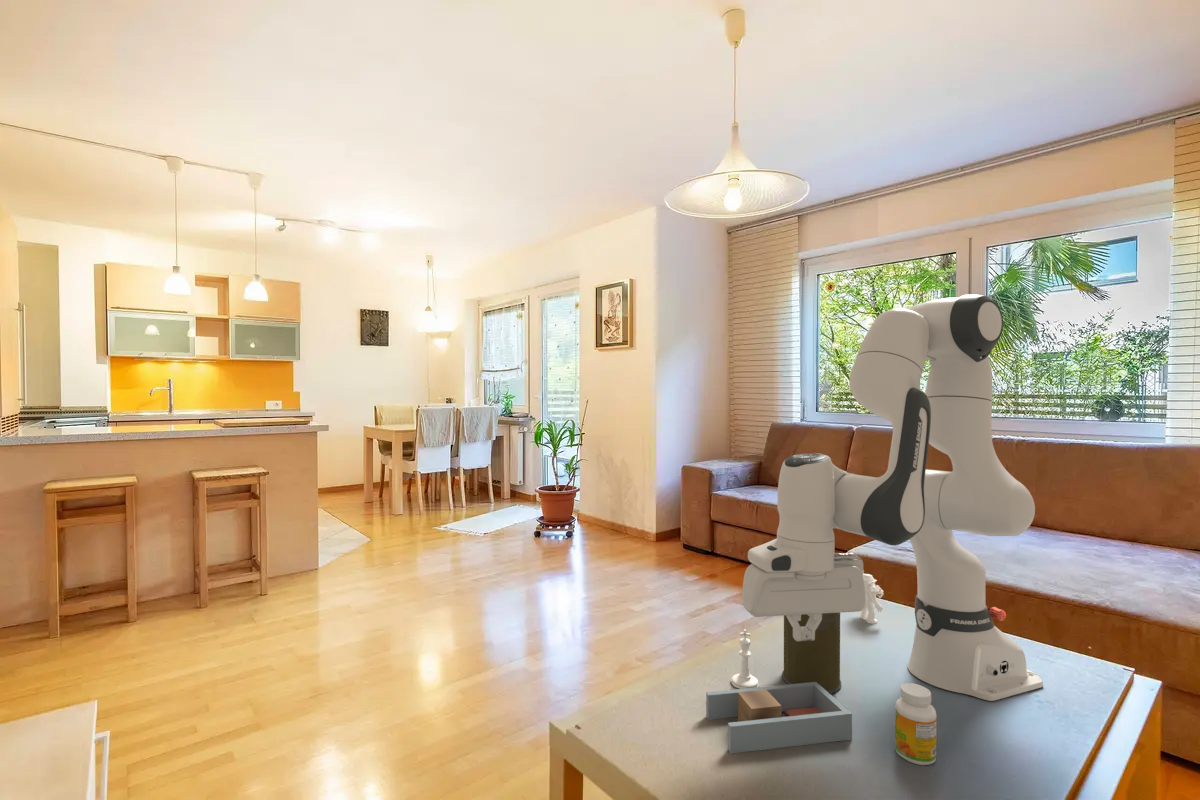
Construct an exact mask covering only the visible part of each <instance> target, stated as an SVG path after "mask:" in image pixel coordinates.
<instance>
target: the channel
mask: <svg viewBox="0 0 1200 800" xmlns="http://www.w3.org/2000/svg"><path fill="white" fill-rule="evenodd" d="M757 690H767V691H768V692H769V693H770V694H771V695H772V696H773V697H774V698H775V699H776V700H777V702H778V703H779V704H780V705H781V713H784V714H786V715H787V716H781V717H779V718H769V719H760V720H750V721H741V722H738V721H732V722H727V750H728V752H729V753H730V754H737V753H747V752H755V751H762V750H772V749H780V748H781V749H782V748H788V747H789V748H790V747H798V746H806V745H814V744H815V745H816V744H823V743H824V744H825V743H833V742H839V741H840V742H841V741H848V740H849V741H850V740H853V713H852V712H851V711H850V710H849V709H847V708H846V707H845V706H844V705H843V704H842V703H841V702H840V701H838V700H837V699H836V698H835V697H834V696H833V695H832V694H829V693H828V692H827V691H826V690H825V689H824V688H823V687H822V686H820V685H819V684H818V683H817V682H809V683H799V684H777V685H771V686H769V685H768V686H758V687H756V688H746V689H738V688H735V689H728V690H725V689H724V690H717V691H716V690H715V691H706V692H705V694H706V695H705V697H706V698H705V700H706V701H705V702H706V703H705V706H706V707H705V710H706V711H705V712H706V713H705V716H706V718H707V720H709V721H710V720H715V719H717V720H719V719H726V718H727V719H728V718H738V692H746V691H757Z"/></svg>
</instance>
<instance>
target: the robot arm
mask: <svg viewBox="0 0 1200 800" xmlns="http://www.w3.org/2000/svg"><path fill="white" fill-rule="evenodd" d="M1003 329H1004V318H1003V313H1002V310H1001V309H1000V307H999V305H998V304H997V302H995V301H994V300H993V299H992V298H991V297H990V296H987V295H982V294H963V295H961V296H959V297H944V298H939V299H932V300H929V301H926V302H922V303H918V304H915V305H912V306H911V305H910V306H909V307H905V308H891V309H888V310H885V311H883V312H882V313H880V314H879V315H878V316H877V317H875V320H874V321H873V322H872V324H871V326H870V327H869V328H868V331H867V332H866V335H865V337H864V338H863V340H862V341H861V345H860V346H859V349H858V351H857V354H856V356H855V359H854V363H853V364H852V368H851V371H850V374H849V383H848V385H849V389H850V392H851V394H852V397H853V398H854V400H855V401H856V402H857V403H858V404H859V405H860V406H862V407H863V408H864V409H866V410H867V411H868V412H870V413H872V414H873V415H875V416H877V417H880V418H882V419H883V420H886V421H888V422H890V424H891V426H892V436H891V437H892V438H891V444H890V450H889V456H888V457H889V458H888V463H887V470H886V471H885V472H884V474H883V475H880V476H878V477H874V476H870V475H869V476H868V475H861V474H856V473H851V472H847V471H846V470H843V469H841V468H839V467H837V466H836V465H835V464H834V463H833V462H832V459H831V457H830V456H829V455H827V454H824V453H816V452H808V453H798V454H794V455H790V456H789V457H787V458H786V459H784V460H783V462H782V464H781V467H780V471H779V476H778V485H777V501H776V502H777V503H776V504H777V505H776V506H777V512H778V515H779V524H778V528H777V530H776V538H774V539H772V540H770V541H768V542H765V543H763V544H760V545H757V546H754V547H752V548H750V549H749V550H748V551H747V559H748V560H747V561H749V562H750V563H751V564H749V565H748V566H747V568H746V569H745V571H744V575H743V582H742V590H741V591H742V594H741V603H742V606H743V608H744V609H745V611H746V612H748V613H749V614H750V615H752V617H754V618H758V617H759V618H761V617H779V616H781V617H782V616H783V617H784V615H786V617H787V619H788V620H789V622H790V624H791V626H792V627H793V638H794V639H795V640H796V641H814V640H815V630H816V629H817V627H818V626H819V624H820V622H821V621H822V613H840V614H841V613H855V612H860V613H861V612H862V610H863V608H864V607H865V605H866V595H865V585H864V579H863V573H864V572H863V570H864V562H863V561H864V560H863V559H862V558H861V557H860V556H859V555H856V553H855V552H846V553H840V552H835V548H836V547H835V546H836V544H835V532H834V530H833V529H837V530H840V531H841V530H842V532H843V531H844V532H846V533H847V532H848V533H852V534H855V535H860V536H864V537H868V538H869V539H872V540H874V541H878V542H880V543H883V544H886V545H889V546H899V545H902V544H903V543H906V542H908V541H909V543H910V544H911V547H912V550H913V553H914V556H915V562H916V575H917V576H916V578H917V593H916V595H915V598H914V615H915V616H914V617H915V623H916V625H915V631H914V637H913V644H912V648H911V652H910V656H909V660H908V662H907V669H908V670H909V672H910V673H911V674H912V675H913V676H914V677H916V678H918V679H920V680H921V681H923V682H925V683H927V684H928V685H931V686H934V687H937V688H940V689H941V690H946V691H950V692H955V693H959V694H965V695H969V696H972V697H975V698H978V699H981V700H985V701H988V702H989V701H990V702H995V701H998V700H1001V699H1005V698H1008V697H1011V696H1016V695H1019V694H1023V693H1027V692H1030V691H1034V690H1036V689H1040V688H1043V687H1044V684H1043V680H1042V679H1041V678H1040V676H1038V675H1037V674H1036V673H1035V672H1034V671H1032V670H1031V669H1028V668H1027V660H1026V655H1025V653H1024V650H1023V648H1022V647H1021V646H1020V645H1019V644H1018V643H1017V642H1015V641H1014V640H1013V639H1011V637H1009V636H1008V635H1006V633H1004V632H1003V631H1001V630H1000V629H999V628H998V627H997V626H995V623H994V621H993V619H996V620H997V621H1000V622H1003V621H1004V620H1005V619H1006V617H1007V614H1006V612H1005V610H1004V609H1000V608H998V607H996V606H993V607H989V606H988V605H987V604H986V584H987V583H986V582H987V581H986V574H987V572H986V569H985V566H984V565H983V562H982V561H981V559H980V558H979V557H977V555H976V554H974V553H972V552H971V551H969V550H968V549H966V548H965V547H964V546H963V545H961V543H960V542H959V541H958V540H957V539H956V537H955V535H954V534H953V533H954V532H953V531H957V532H964V533H969V534H974V535H975V534H976V535H980V536H981V535H982V536H986V537H1014V536H1015V537H1017V536H1020V535H1021V534H1023V533H1025V531H1026V530H1028V529H1029V527H1030V526H1031V524H1032V523H1033V521H1034V518H1035V514H1036V513H1035V512H1036V504H1035V501H1034V497H1033V495H1032V494H1031V492H1030V491H1029V489H1028V488H1027V487H1026V486H1025V485H1024V484H1022V482H1020V481H1019V480H1017V479H1016V478H1015V477H1014V476H1013V475H1012V474H1011V473H1010V472H1009V471H1008V470H1006V468H1005V466H1004V465H1003V464H1002V462H1001V461H1000V459H999V458H998V456H997V453H996V450H995V447H994V444H993V433H992V413H993V411H992V409H993V377H992V375H993V374H992V368H991V363H990V362H991V361H990V357H989V356H990V354H991V352H992V351H993V349H994V348H995V347H996V346H997V344H998V342H999V340H1000V339H1001V336H1002V333H1003ZM926 361H929V365H930V367H929V371H928V376H927V381H926V387H925V392H923V391H922V390H921V379H922V374H923V372H924V368H925V364H926ZM929 445H930V446H931V447H933V448H934V449H936V450H938V451H939V452H941V453H943V454H945V455H947V456H948V457H949V459H950V461H951V465H952V471H948V470H947V471H946V470H937V469H927V462H928V452H929ZM802 614H807V615H808V616H810V617H809V620H808V622H807V624H806V626H803V627H800V625H799V623H798V621H801V615H802ZM797 620H798V621H797Z"/></svg>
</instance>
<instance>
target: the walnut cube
mask: <svg viewBox="0 0 1200 800" xmlns="http://www.w3.org/2000/svg"><path fill="white" fill-rule="evenodd" d="M779 717H782V712H781V705H780V704H779V703H778V702H777V700H776V699H775V698H774V697H773V696H772V695H771V694H770V693H769V692H768V691H767V690H757V691H746V692H738V717H737V722H741V721H750V720H760V719H769V718H779Z"/></svg>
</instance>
